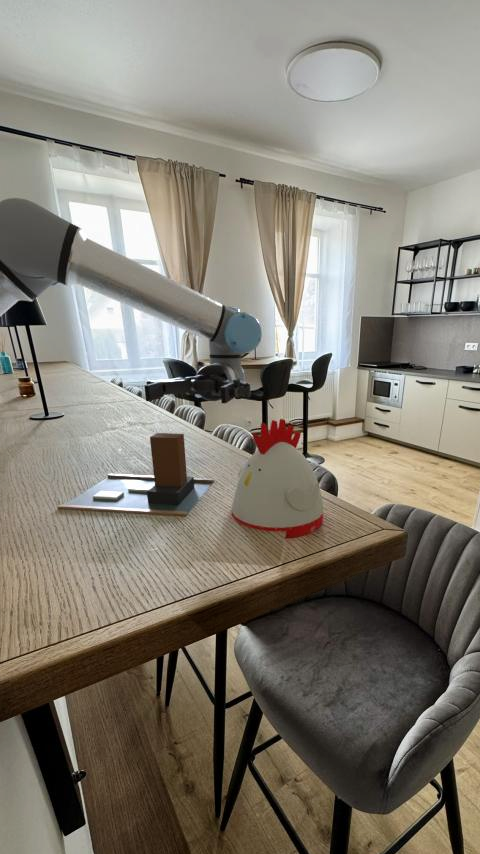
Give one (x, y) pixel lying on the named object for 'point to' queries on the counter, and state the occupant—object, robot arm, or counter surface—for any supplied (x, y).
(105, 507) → the chalkboard
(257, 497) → the kitchen timer
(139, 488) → the chalk smudge
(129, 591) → the counter surface
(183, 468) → the eraser
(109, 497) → the chalk smudge
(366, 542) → the counter surface
